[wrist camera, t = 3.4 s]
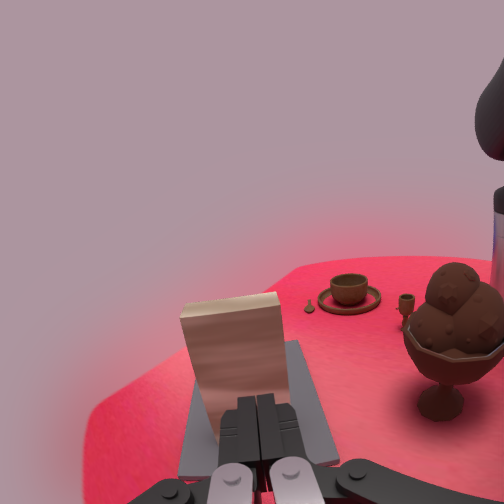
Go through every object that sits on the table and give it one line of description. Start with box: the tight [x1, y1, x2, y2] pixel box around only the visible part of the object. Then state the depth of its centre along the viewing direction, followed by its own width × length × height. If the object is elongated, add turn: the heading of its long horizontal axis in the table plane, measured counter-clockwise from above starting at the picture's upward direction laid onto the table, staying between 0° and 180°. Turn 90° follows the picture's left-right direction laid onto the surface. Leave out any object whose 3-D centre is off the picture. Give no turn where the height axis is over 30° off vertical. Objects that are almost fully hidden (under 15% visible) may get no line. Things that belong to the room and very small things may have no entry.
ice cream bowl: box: [403, 262, 504, 421], centre depth 21 cm, size 11×11×15 cm
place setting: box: [304, 273, 415, 331], centre depth 48 cm, size 18×20×6 cm
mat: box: [177, 340, 340, 480], centre depth 30 cm, size 22×14×1 cm, turn 2°
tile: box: [180, 292, 291, 447], centre depth 23 cm, size 3×7×14 cm, turn 92°
